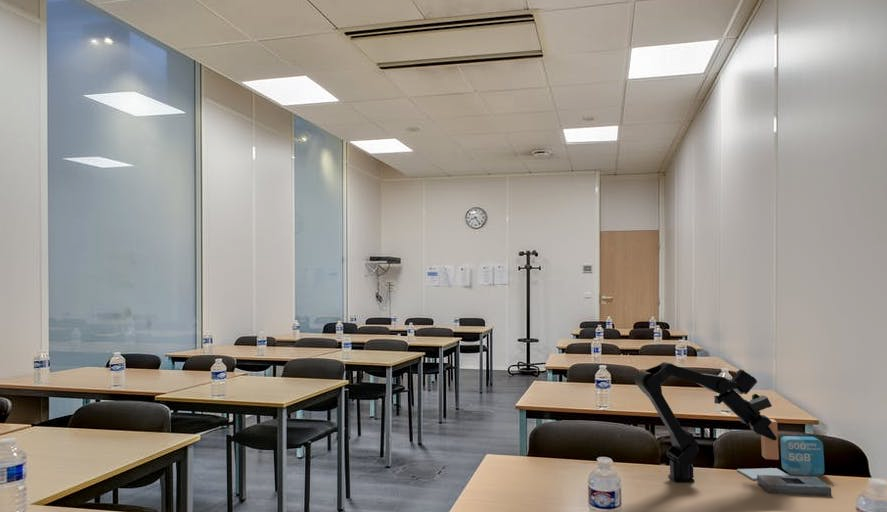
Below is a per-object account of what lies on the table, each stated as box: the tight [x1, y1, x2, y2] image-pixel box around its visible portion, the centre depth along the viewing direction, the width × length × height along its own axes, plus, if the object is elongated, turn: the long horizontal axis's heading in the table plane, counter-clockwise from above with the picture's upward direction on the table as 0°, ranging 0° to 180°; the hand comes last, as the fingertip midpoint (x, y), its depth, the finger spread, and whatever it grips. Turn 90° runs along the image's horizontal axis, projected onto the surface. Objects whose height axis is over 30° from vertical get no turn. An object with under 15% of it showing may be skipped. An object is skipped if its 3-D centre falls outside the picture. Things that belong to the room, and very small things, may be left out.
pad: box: [736, 467, 791, 481], centre depth 200 cm, size 14×10×1 cm
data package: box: [779, 435, 825, 476], centre depth 202 cm, size 12×4×12 cm, turn 80°
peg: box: [760, 418, 780, 461], centre depth 197 cm, size 4×4×12 cm
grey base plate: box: [756, 475, 832, 497], centre depth 186 cm, size 18×10×2 cm, turn 79°
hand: (773, 437), depth 197 cm, fingers closed on peg, 4 cm apart
